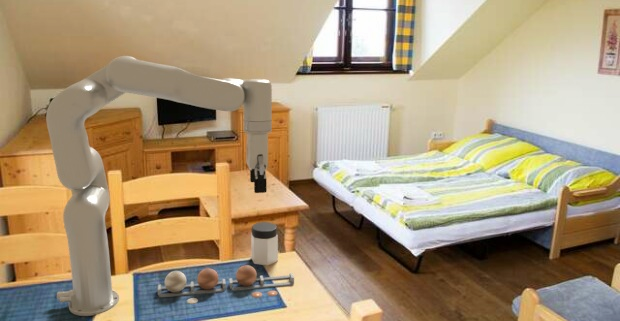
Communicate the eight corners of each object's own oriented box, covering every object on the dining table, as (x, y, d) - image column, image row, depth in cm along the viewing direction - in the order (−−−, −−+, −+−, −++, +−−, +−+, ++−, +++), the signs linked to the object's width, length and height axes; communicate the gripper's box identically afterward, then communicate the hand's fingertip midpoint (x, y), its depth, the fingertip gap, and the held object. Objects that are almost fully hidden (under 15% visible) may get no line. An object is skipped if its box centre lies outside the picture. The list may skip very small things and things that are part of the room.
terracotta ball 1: (197, 294, 143) (197, 275, 142) (197, 284, 149) (196, 265, 147) (219, 292, 145) (218, 273, 143) (218, 282, 150) (217, 263, 149)
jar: (249, 256, 169) (249, 222, 166) (273, 253, 171) (273, 220, 168) (254, 268, 161) (254, 233, 158) (279, 265, 163) (280, 230, 160)
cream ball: (164, 297, 141) (163, 277, 140) (165, 287, 147) (164, 268, 146) (186, 295, 143) (185, 276, 141) (187, 285, 148) (186, 266, 147)
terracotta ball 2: (237, 290, 146) (236, 271, 144) (235, 280, 151) (235, 262, 150) (258, 288, 147) (257, 269, 146) (255, 279, 153) (255, 260, 151)
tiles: (175, 308, 137) (175, 306, 137) (175, 300, 141) (175, 298, 141) (281, 297, 144) (281, 295, 143) (279, 290, 147) (279, 289, 147)
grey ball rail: (157, 299, 141) (157, 291, 141) (158, 290, 146) (158, 282, 146) (294, 286, 150) (294, 279, 149) (291, 278, 155) (291, 271, 154)
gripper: (240, 120, 143) (241, 178, 148) (246, 132, 127) (247, 197, 132) (267, 120, 145) (267, 177, 149) (276, 132, 129) (276, 196, 133)
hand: (258, 187), depth 140 cm, fingers open, 9 cm apart
